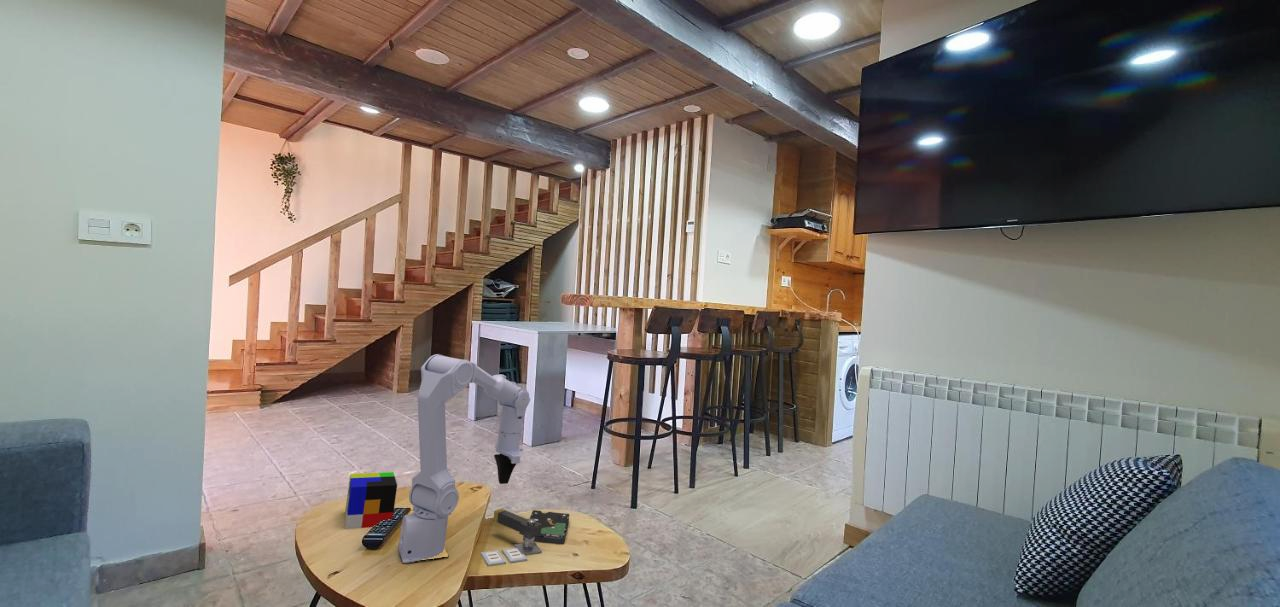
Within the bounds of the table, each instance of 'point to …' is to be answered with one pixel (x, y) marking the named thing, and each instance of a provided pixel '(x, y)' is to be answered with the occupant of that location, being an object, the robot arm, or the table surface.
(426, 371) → the robot arm
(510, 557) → the label plate
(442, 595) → the table surface
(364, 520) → the puzzle toy
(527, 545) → the pivot stand
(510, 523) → the swing arm
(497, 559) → the label plate
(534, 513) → the disk drive
